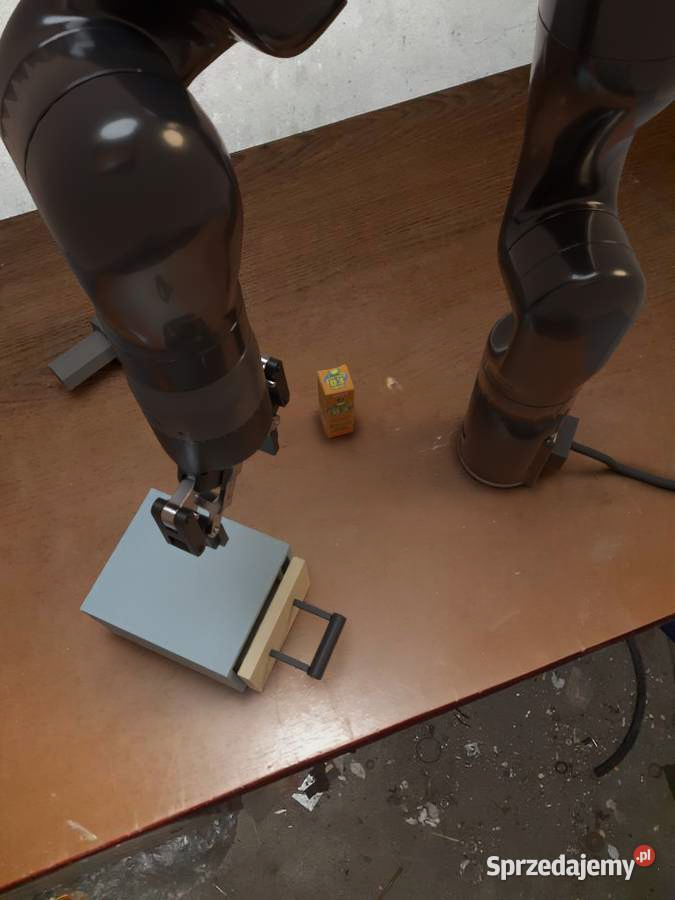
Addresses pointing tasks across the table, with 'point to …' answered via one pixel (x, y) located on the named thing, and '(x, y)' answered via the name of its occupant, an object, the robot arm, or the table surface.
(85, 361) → the mechanical component
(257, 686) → the drawer
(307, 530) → the table surface
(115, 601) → the blue drawer cabinet
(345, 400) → the supplement box
